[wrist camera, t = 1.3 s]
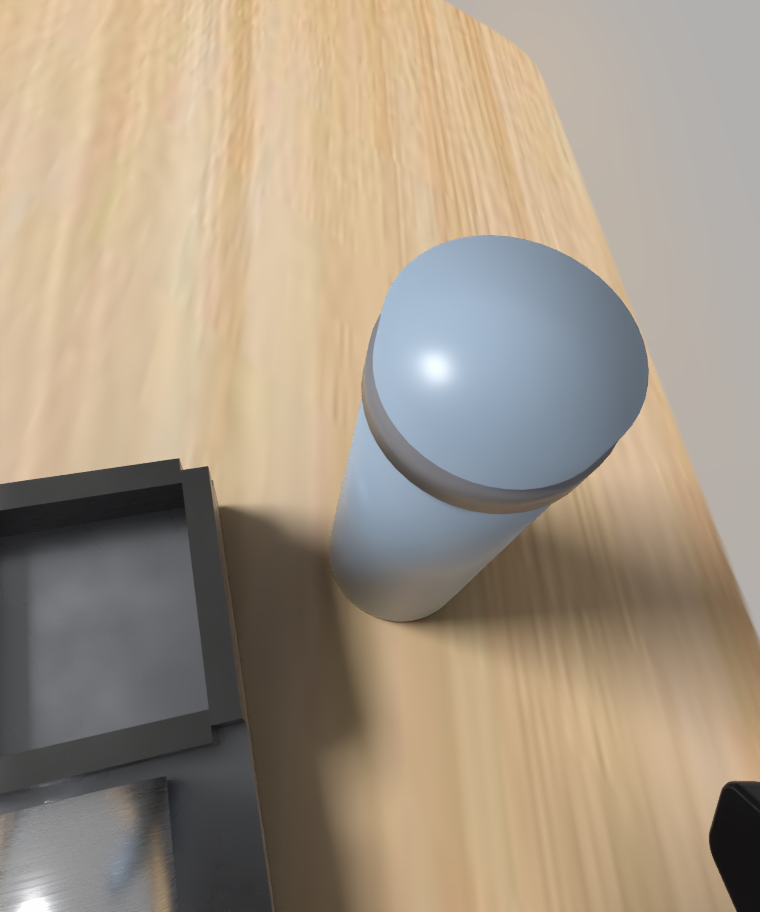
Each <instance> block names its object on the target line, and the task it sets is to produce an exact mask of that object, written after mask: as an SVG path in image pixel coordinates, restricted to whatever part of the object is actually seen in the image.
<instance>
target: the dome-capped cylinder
mask: <svg viewBox="0 0 760 912" xmlns="http://www.w3.org/2000/svg"><path fill="white" fill-rule="evenodd" d="M648 372H649V370H648V360H647V353H646V349H645V345H644V341H643V339H642V336H641V334H640V331H639V328H638V326H637V324H636V322H635V321H634V319H633V317H632V315H631V313H630V312H629V310H628V309H627V307H626V306H625V305H624V303H623V302H622V300H621V299H620V298H619V297H618V296H617V294H616V293H615V292H614V291H613V290H612V289H611V288H610V287H609V286H608V285H607V284H606V283H605V282H604V281H603V280H602V279H601V278H600V277H599V276H597V275H596V274H595V273H593V272H592V271H591V270H590V269H588V268H587V267H586V266H584V265H582V264H581V263H579V262H578V261H576V260H574V259H573V258H571V257H569V256H567V255H565V254H563V253H561V252H559V251H557V250H555V249H552V248H550V247H547V246H545V245H542V244H539V243H535V242H532V241H528V240H525V239H519V238H514V237H507V236H494V235H489V236H472V237H465V238H459V239H456V240H452V241H448V242H445V243H443V244H440V245H437V246H435V247H433V248H431V249H429V250H427V251H426V252H424V253H422V254H420V255H419V256H418V257H416V258H415V259H414V260H413V261H411V262H410V263H409V264H408V265H407V266H406V267H405V268H404V269H403V270H402V271H401V272H400V273H399V275H398V276H397V278H396V279H395V280H394V282H393V283H392V285H391V287H390V289H389V291H388V293H387V295H386V298H385V301H384V305H383V308H382V312H381V314H380V316H379V318H378V320H377V322H376V324H375V326H374V328H373V331H372V335H371V338H370V341H369V346H368V350H367V355H366V360H365V364H364V369H363V376H362V384H361V387H362V400H361V404H360V409H359V413H358V417H357V422H356V426H355V430H354V435H353V439H352V444H351V448H350V452H349V457H348V461H347V466H346V470H345V474H344V479H343V483H342V488H341V492H340V496H339V501H338V505H337V509H336V514H335V518H334V523H333V527H332V531H331V536H330V542H329V560H330V566H331V569H332V573H333V575H334V578H335V580H336V582H337V584H338V586H339V587H340V589H341V590H342V592H343V593H344V594H345V596H346V597H347V598H348V599H349V600H350V601H351V602H352V603H353V604H354V605H356V606H357V607H358V608H360V609H361V610H363V611H365V612H366V613H368V614H370V615H372V616H375V617H377V618H380V619H384V620H389V621H396V622H401V621H413V620H417V619H421V618H424V617H427V616H429V615H431V614H433V613H435V612H436V611H438V610H439V609H441V608H442V607H443V606H444V605H445V604H447V603H448V602H449V601H450V600H451V599H452V598H453V597H454V596H455V595H456V594H457V593H458V592H459V591H460V590H461V589H462V588H463V587H465V586H466V585H467V584H468V583H469V582H470V581H471V580H472V579H473V578H474V577H475V576H476V575H477V574H478V573H479V572H480V571H481V570H482V569H483V568H484V567H486V566H487V565H488V564H489V563H490V562H491V561H492V560H493V559H494V558H495V557H496V556H497V555H498V554H499V553H500V552H501V551H502V550H503V549H504V548H506V547H507V546H508V545H509V544H510V543H511V542H512V541H513V540H514V539H515V538H516V537H517V536H518V535H519V534H520V533H521V532H522V531H523V530H524V529H525V528H527V527H528V526H529V525H530V524H531V523H532V522H533V521H534V520H535V519H536V518H537V517H538V516H539V515H540V514H541V513H542V512H543V511H544V510H545V509H547V508H548V507H549V506H550V505H551V504H552V503H554V502H556V501H557V500H559V499H561V498H562V497H564V496H566V495H567V494H569V493H570V492H571V491H572V490H573V489H575V488H576V487H577V486H578V485H579V484H580V483H581V482H582V481H584V480H585V479H586V478H587V477H588V476H589V475H590V474H591V473H592V472H593V471H594V470H595V469H596V468H598V467H599V466H600V465H601V464H602V462H603V461H604V460H605V459H606V458H607V457H608V456H609V454H610V453H611V452H612V450H613V448H614V447H615V445H616V443H617V442H618V440H619V439H620V438H621V437H622V436H623V435H624V434H625V433H626V432H627V430H628V429H629V428H630V427H631V426H632V424H633V423H634V421H635V419H636V418H637V416H638V414H639V413H640V410H641V408H642V405H643V403H644V400H645V396H646V391H647V387H648Z"/></svg>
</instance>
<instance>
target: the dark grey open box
mask: <svg viewBox="0 0 760 912" xmlns="http://www.w3.org/2000/svg"><path fill="white" fill-rule="evenodd" d="M0 912H275V907H274V900H273V893H272V886H271V879H270V871H269V864H268V857H267V850H266V843H265V836H264V829H263V821H262V814H261V807H260V800H259V793H258V786H257V779H256V771H255V764H254V757H253V750H252V743H251V736H250V728H249V721H248V714H247V707H246V700H245V693H244V686H243V678H242V671H241V664H240V657H239V650H238V643H237V636H236V628H235V621H234V614H233V607H232V600H231V593H230V586H229V578H228V571H227V564H226V557H225V550H224V543H223V536H222V528H221V521H220V514H219V507H218V501H217V497H216V492H215V488H214V484H213V480H211V476H210V472H209V468H208V466H207V467H200V468H193V469H187V470H183V468H182V465H181V462H180V459H179V458H178V459H171V460H164V461H157V462H151V463H144V464H137V465H130V466H123V467H116V468H109V469H102V470H95V471H88V472H82V473H75V474H68V475H61V476H54V477H47V478H40V479H33V480H26V481H19V482H12V483H6V484H0Z"/></svg>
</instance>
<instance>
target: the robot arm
mask: <svg viewBox="0 0 760 912" xmlns="http://www.w3.org/2000/svg"><path fill="white" fill-rule="evenodd" d="M709 844H710V850H711V854H712V856H713V859H714V861H715V864H716V866H717V868H718V871H719V873H720V875H721V877H722V880H723V882H724V884H725V886H726V889H727V891H728V893H729V895H730V898H731V900H732V902H733V905H734V907H735V909H736V911H737V912H760V782H756V781H731V782H728V783H727V784H726V785H725V786H724V787H723V788H722V790H721V793H720V797H719V800H718V804H717V807H716V811H715V814H714V818H713V821H712V825H711V828H710V833H709Z"/></svg>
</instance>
